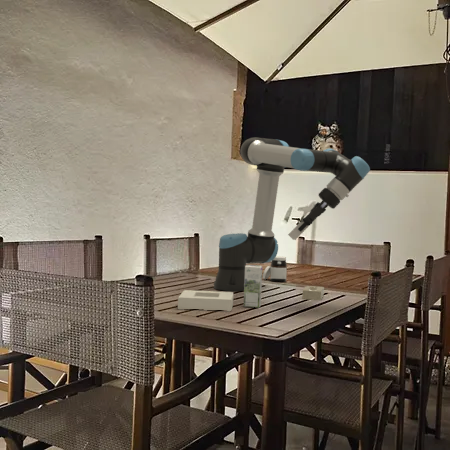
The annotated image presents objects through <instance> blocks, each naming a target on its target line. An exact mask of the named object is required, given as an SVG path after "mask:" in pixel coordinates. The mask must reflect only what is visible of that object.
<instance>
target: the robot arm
mask: <svg viewBox="0 0 450 450" xmlns="http://www.w3.org/2000/svg"><path fill="white" fill-rule="evenodd" d="M239 151H240V156H241V159H242V160H243V161H244V162H245V163H246V164H248V165H251V166H256V170H257V172H258V183H257V191H256V196H255V197H256V198H255V206H254V212H253V218H252V219H253V220H252V227H251V229H249V230H248V231H247V234H246V233H243V232H241V233H240V232H239V233H238V232H237V233H229V234H224V235H221V236H220V238H219V245H218V249H219V250H218V270H217V274H216V276H215V280H214V282H213V289H215V290H218V291H224V292H244V281H245V266H246V265H249V264H266V263H271V262H272V260H273V259H274V258H275V257H276V256H277V255H278V253H279V244H278V240H277V239H276V237H275V233H274V232H273V223H274V216H275V209H276V202H277V197H278V195H277V194H278V187H279V181H280V176H282V175H283V174H284V171H285V168H291V169H294V170H296V171H302V172H319V173H330V174H332V175H333V176H334V177H333V178H332V179H331V180H330V181H329V182H328V184H326V187H324V188H323V189H322V190H321V191H320V192H318V197H319V198H320V199H321V201H320V202H318V201H317V202H316V203H315V204H314V206H313V207H312V208H311V209H310V212H309V213H308V214H307V215H306V216H305V217H303V218H302V219H301V221H300V222H298V223H297V225H296V226H295V227H294V228H293V229H292V230H291V231H290V232H289V233H288V234H287V236H289V237H290V239H292V240H293V241H297V239H298V238H299V237H300V236H301V235H302V234H303V233H304V232H305V231H306V230H307V229H308V228H309V226H311V225H312V224H313V223H314V221H315V220H317V218H318V217H320V216H321V215H322V214H324V213H325V212H326V210H327V209H326V208H328V207H329V208H330V209H333V210H334V209H335V208H337V207H338V205H340V203H341V201H342V200H344V199H345V198H348V197H349V193H350V192H352V190H354V188H356V186H357V185H358V184H359V183H360V182H361V181H363V180H364V179H365V177H366V176H367V175H368V174H369V172H371V167H370V166H369V164H368V163H367V161H365V160H364V159H363V158H361V157H360V156H357V155H356V156H354V157H352V158H351V159H350V158H348V157H346V156H345V155H343V154H341V153H340V152H339V151H338V150H335V149H333V148H326V149H323V150H316V149H308V148H300V147H293V146H290V145H289V144H288V143H287V142H286V141H284V140H280V139H276V138H275V139H273V138H264V137H255V136H254V137H250V138H248V139H246V140H244V142H243V143H242V144H241V147H240V150H239Z"/></svg>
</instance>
